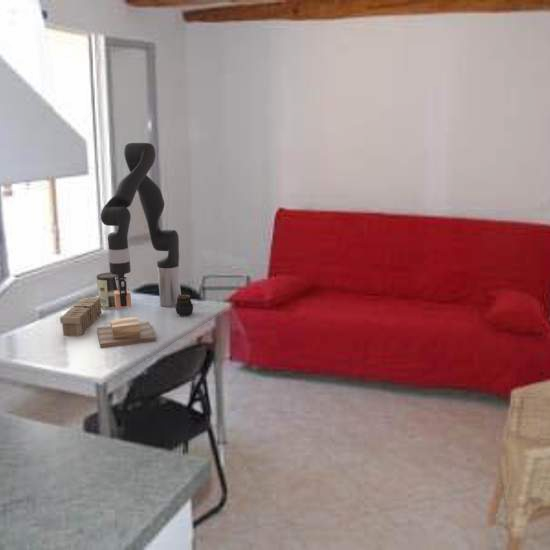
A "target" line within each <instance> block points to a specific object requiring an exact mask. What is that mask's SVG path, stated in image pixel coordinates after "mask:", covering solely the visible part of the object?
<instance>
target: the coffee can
mask: <svg viewBox="0 0 550 550" xmlns="http://www.w3.org/2000/svg"><path fill="white" fill-rule="evenodd" d="M115 277H116V275H114V274H111V273H110V272H102V273H99V274H97V275H96V280H97V291H98V297H100V299H101V310H113V309H116V306H115V297H114V291H118V289H117V287H116V281H115Z"/></svg>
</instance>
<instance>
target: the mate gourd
mask: <svg viewBox="0 0 550 550" xmlns="http://www.w3.org/2000/svg"><path fill="white" fill-rule="evenodd" d="M178 295H179V296H178V297H177V304H176V306H175V312H176V314H177V315H178V316H181V317H188V316H190V315H192V314H193V310H194V305H193V303H192V300H191V295H189V294H181V295H180V294H178Z"/></svg>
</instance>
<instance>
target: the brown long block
mask: <svg viewBox="0 0 550 550" xmlns="http://www.w3.org/2000/svg"><path fill="white" fill-rule="evenodd" d="M101 315H102V308H101V299H100V297H99V296H98V297H97V296H95V297H91V296H90V297H86V298H81V299H79V300H78V301H77V302H76V303H75V304H74V305H73V306H72V307H70V309H69V310H67V311H66V312H65V313H64V314H63V315H62V316H60V317H59V321H60V324H62V326H61V327H62V335H63V336H67V337H68V336H69V337H70V336H82V335H84V334H85V333H86V332H87V330H88V329H89V328H90V327H92V325H93V324H94V323H95V322H96V320H97V319H98V318H99V317H100V316H101Z"/></svg>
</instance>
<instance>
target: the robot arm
mask: <svg viewBox="0 0 550 550" xmlns="http://www.w3.org/2000/svg"><path fill="white" fill-rule="evenodd" d="M123 149H124V151H123V156H124V160H125V163H126V166H127V168H128V170H129V173H128V174H127V175H125V176H124V177H123V178H122V179H121V180H120V182H119V183H118V185H117V186H116V190H115V192H114V194H113V196H112V197H111V198H110V199H109V201H107V203H106V204H105V205H104V206H103V208H102V210H101V211H100V220H101V223H102V225H103V224H104V225H105V226H110V227H111V226H112V227H113V226H114V227H118V228H117V231H112V232H110V233H108V235H107V243H108V244H107V245H108V247H107V248H108V263H109V273H111V274H114V275H116V277H115V281H116V287H117V289H118V291H119V294H120V295H119V296H120V303H121V307H124V306H127V300H126V296H127V289H128V286H127V284H128V283H127V282H128V279H127V276H125V275H126V274H129V273H130V272H131V269H132V268H131V258H130V251H129V242H128V234H129V228H130V223H131V218H132V217H131V216H132V215H131V212H130V210H129V209H128V208H129V207H131V205H132V204H133V201H134V198H135V196H136V194H137V193H138V197H139V201H140V205H141V208H142V210H143V213H144V217H145V219H146V222H147V227H148V232H149V237H150V240H151V241H150V242H151V246H152V248H153V249H154V250H155V251H158V252H161V251H162V252H167V256H165V257H163V258H162V257H161V258H159V259H158V260H157V262H156V264H157V275H158V277H157V278H158V291H159V305H160V306H161V307H165V308H166V307H167V308H169V307H170V308H171V307H176V304H177V297H178V296H179V295H178V294H180V295H182V291H181V280H180V276H181V275H180V264H179V263H180V261H179V260H180V244H179V243H180V241H179V240H180V239H179V234H178V232H177V230H175V229H161V227H160V224H159V223H160V222H159V221H160V218H161V216H162V214H163V211H164V208H165V201H164V197H163V193H162V190H161V188H160V187H159V185H157V184H156V183H155V182H154V181H153V180H152V179H151V178H150V177H149V176H148V173H149V172H150V170H151V168H152V167H153V165H154V163H155V160H156V149H155V146H154V145H153V144H152V143H149V142H129V143H127V144H126V145H125V146H124V148H123ZM121 291H125V293H121Z"/></svg>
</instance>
